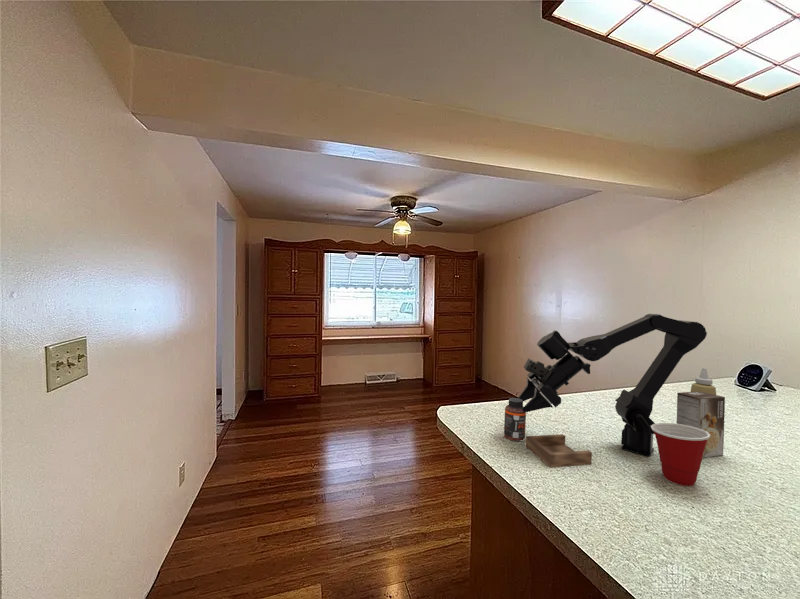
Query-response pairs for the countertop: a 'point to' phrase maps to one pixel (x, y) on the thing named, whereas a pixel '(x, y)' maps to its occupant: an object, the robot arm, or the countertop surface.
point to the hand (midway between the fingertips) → (520, 405)
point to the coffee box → (704, 417)
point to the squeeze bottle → (703, 383)
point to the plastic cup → (680, 451)
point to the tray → (556, 451)
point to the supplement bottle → (515, 420)
